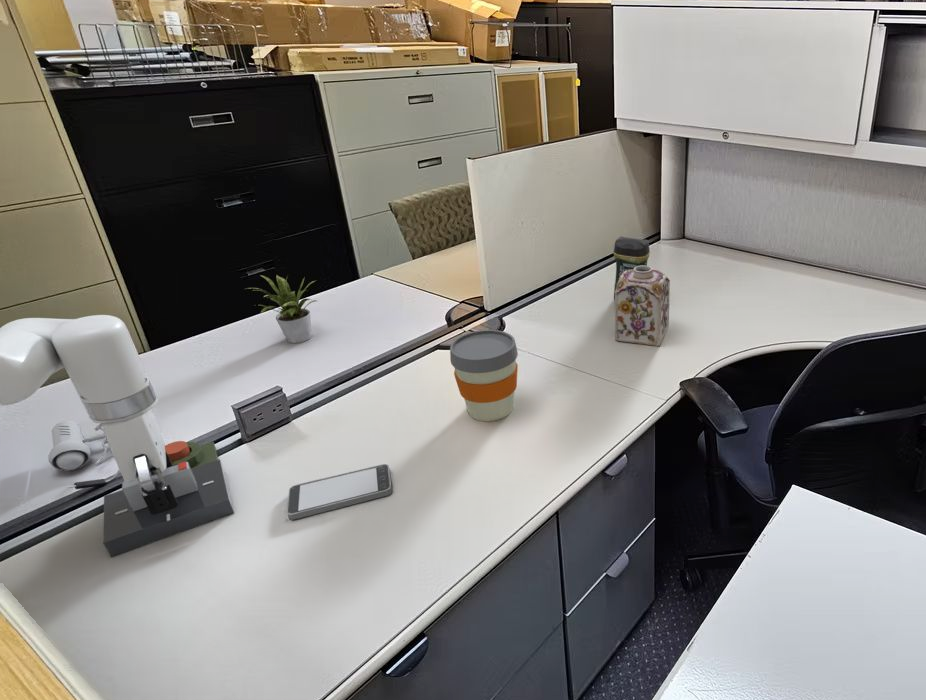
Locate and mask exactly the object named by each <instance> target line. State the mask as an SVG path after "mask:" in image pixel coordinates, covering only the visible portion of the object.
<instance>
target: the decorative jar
mask: <svg viewBox="0 0 926 700" xmlns="http://www.w3.org/2000/svg"><path fill="white" fill-rule="evenodd" d="M670 283H671V280H670V278H669V277H668V276H667V275H666V274H665V273H663V272H662V271H660V270H658V269H655V268H653V267H652V266H651V265H647V266H645V265H641V266H637V267H635V268H634V269H631V270H627V271H624V272H623V273H622V274H621V275H620V278H619V280H618V283H617V286H616V290H615V301H614V340H615V341H616V342H622V343H623V342H624V343H632V344H637V345H638V344H639V345H646V346H655V347H660V345H661V343H662V341H663V339H664V337H665V336H666V333H667V331H668V328H669V323H670V321H669V320H670V294H671V293H670V292H671V291H670V290H671V289H670V286H671V284H670Z"/></svg>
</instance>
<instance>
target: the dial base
mask: <svg viewBox="0 0 926 700" xmlns="http://www.w3.org/2000/svg"><path fill="white" fill-rule="evenodd" d="M218 459H219V460H216V461H213V462H210V463H207V464H204V465H200V466H197V467H194V468H191V470H192V473H193V475H194V477H195V480H196V482H197V486H198V491H195V492H192V493H189V494H185V495H182V496H179V497H176V500H177V503H178V506H177V507H176V508H173V509H170V510H168V511H165V512H162V513H159V514H156V515H152V514H151V513H150V511H149V509H148V507H146V508H143V509H140V510H137V511H133V510H132V508H131V506H130V504H129V502H128V500H127V498H126V496H125V494H124V492H123V490H122V489H121V490H118V491H115V492H112V493H109V494H105V495H104V496H103V532H102V533H103V534H102V544H103V546H104V547H105V549H106V551H107V553H108V555H109V557H110V558H114V557H118V556H120V555H123V554H126V553H128V552H131V551H133V550H137V549H139V548H142V547H145V546H148V545H150V544H153V543H155V542H158V541H161V540H165V539H166V538H171V537H172V536H175V535H179V534H181V533H184V532H186V531H189V530H192V529H194V528H195V529H196V528H197V527H200V526H203V525H205V524H208V523H211V522H215V521H217V520H220V519H222V518H226V517H228V516H231V515H234V514H235V510H234V505H233V501H232V496H231V492H230V488H229V483H228V478H227V474H226V471H225V469H224V466H223V463H222V461H221V459H220V458H218Z"/></svg>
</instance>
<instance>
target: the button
mask: <svg viewBox="0 0 926 700" xmlns="http://www.w3.org/2000/svg"><path fill="white" fill-rule="evenodd" d="M186 442H187V441H183V440H178V441H176V440H175V441H173V442H169V443H168V444H165V452H167V454H168V456H169V459H170V461H171V462H174V461H177V460H180V459H182V458H184V457H186V456H188V455H189V454H190V450H189V447H188V445H187V443H186Z"/></svg>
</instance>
